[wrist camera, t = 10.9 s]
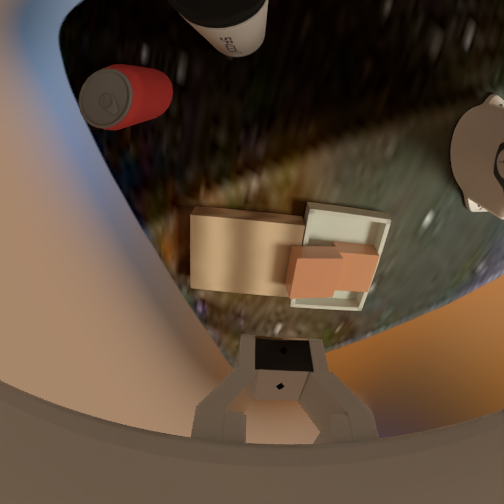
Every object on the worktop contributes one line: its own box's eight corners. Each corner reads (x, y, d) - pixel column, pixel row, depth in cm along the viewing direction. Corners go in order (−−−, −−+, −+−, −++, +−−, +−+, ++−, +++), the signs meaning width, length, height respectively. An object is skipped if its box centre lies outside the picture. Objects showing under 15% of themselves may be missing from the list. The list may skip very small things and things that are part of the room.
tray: (384, 212, 39) (391, 219, 37) (357, 300, 46) (361, 310, 44) (306, 201, 39) (309, 208, 36) (288, 296, 46) (290, 306, 44)
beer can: (145, 130, 34) (100, 148, 24) (115, 93, 32) (62, 100, 21) (185, 96, 32) (152, 99, 22) (153, 58, 30) (109, 48, 19)
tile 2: (372, 245, 41) (379, 255, 38) (362, 280, 44) (367, 292, 41) (333, 241, 41) (338, 252, 38) (324, 277, 44) (328, 289, 41)
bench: (302, 216, 40) (305, 225, 37) (289, 284, 45) (290, 297, 42) (194, 205, 39) (190, 214, 37) (194, 275, 45) (190, 288, 42)
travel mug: (230, 0, 26) (201, -80, 9) (276, 29, 28) (294, -35, 11) (197, 38, 29) (133, -11, 11) (242, 67, 31) (222, 37, 13)
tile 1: (335, 246, 39) (343, 258, 37) (325, 284, 42) (332, 297, 40) (291, 245, 38) (297, 258, 36) (284, 284, 41) (289, 298, 39)
